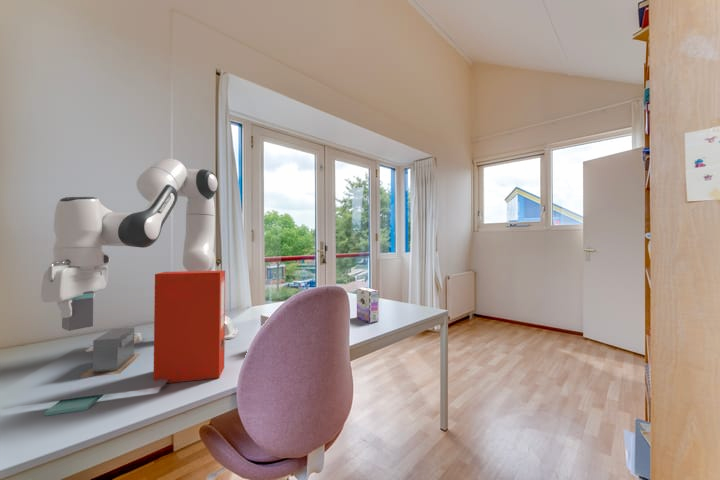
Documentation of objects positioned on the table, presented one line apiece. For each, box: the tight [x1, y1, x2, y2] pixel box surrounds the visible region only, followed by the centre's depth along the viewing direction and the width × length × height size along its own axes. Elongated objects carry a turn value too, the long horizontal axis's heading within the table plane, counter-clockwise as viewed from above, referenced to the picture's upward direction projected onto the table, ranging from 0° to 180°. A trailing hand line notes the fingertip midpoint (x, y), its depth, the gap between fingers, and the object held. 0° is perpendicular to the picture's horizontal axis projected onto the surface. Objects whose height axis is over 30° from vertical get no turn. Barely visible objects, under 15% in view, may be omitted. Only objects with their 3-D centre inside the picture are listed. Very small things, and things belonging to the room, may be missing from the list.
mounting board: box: [78, 353, 142, 379], centre depth 92 cm, size 10×16×2 cm, turn 19°
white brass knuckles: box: [85, 332, 144, 353], centre depth 110 cm, size 3×18×15 cm
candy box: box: [356, 286, 380, 324], centre depth 153 cm, size 14×6×16 cm, turn 30°
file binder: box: [153, 270, 226, 384], centre depth 88 cm, size 8×17×32 cm, turn 105°
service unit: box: [92, 326, 135, 374], centre depth 92 cm, size 7×12×10 cm, turn 19°
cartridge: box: [61, 291, 95, 332], centre depth 73 cm, size 5×5×9 cm
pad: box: [44, 393, 104, 416], centre depth 73 cm, size 8×8×1 cm
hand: (77, 313), depth 73 cm, fingers closed on cartridge, 6 cm apart
